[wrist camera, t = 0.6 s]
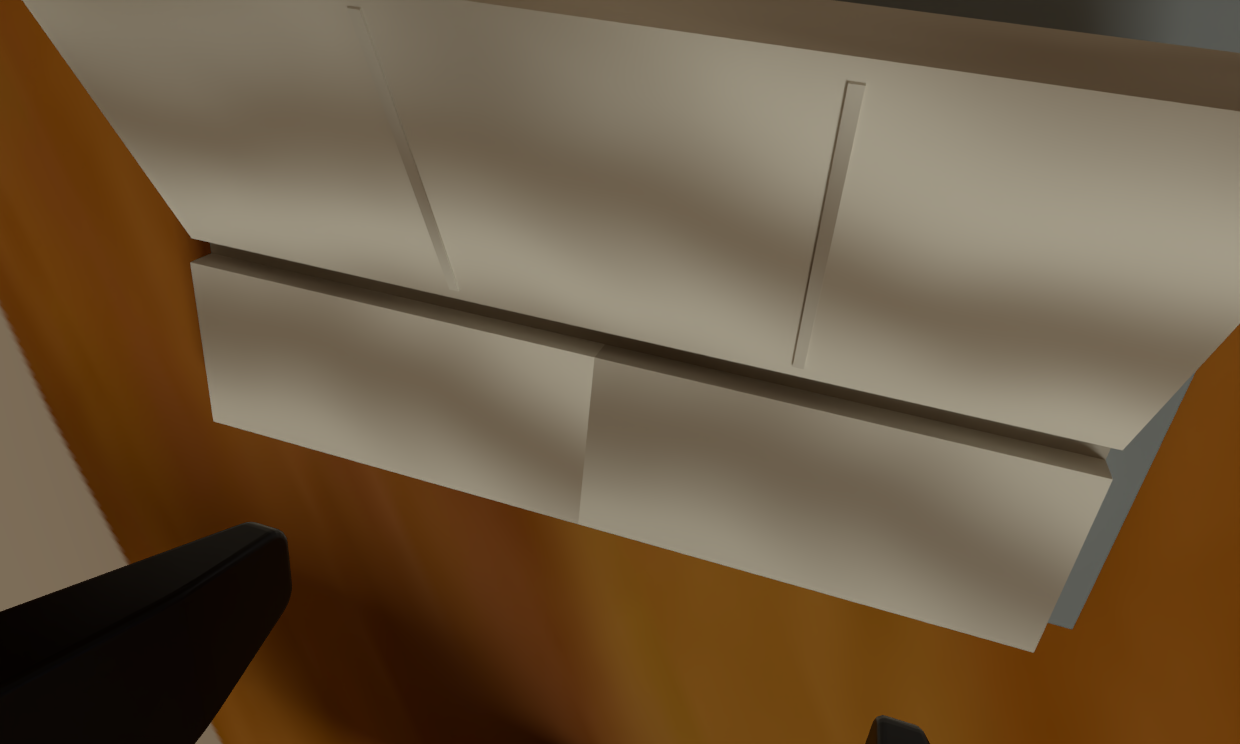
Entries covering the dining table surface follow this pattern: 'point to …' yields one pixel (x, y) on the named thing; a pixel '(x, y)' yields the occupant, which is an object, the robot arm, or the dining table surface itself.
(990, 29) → the plank
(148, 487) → the dining table surface
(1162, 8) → the underlay mat
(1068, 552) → the floor row
